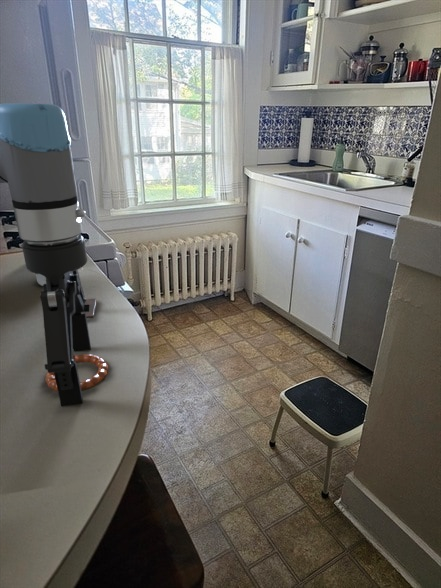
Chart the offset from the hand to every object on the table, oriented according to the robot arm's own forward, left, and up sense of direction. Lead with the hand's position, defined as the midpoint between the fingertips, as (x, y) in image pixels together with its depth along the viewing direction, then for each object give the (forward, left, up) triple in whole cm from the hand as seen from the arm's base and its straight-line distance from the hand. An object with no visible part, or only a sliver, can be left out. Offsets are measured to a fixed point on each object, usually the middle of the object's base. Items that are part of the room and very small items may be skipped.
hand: (77, 374), depth 59 cm
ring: (0, 0, 0) cm, 0 cm away
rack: (-22, -3, -1) cm, 22 cm away
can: (-40, -10, -1) cm, 41 cm away
